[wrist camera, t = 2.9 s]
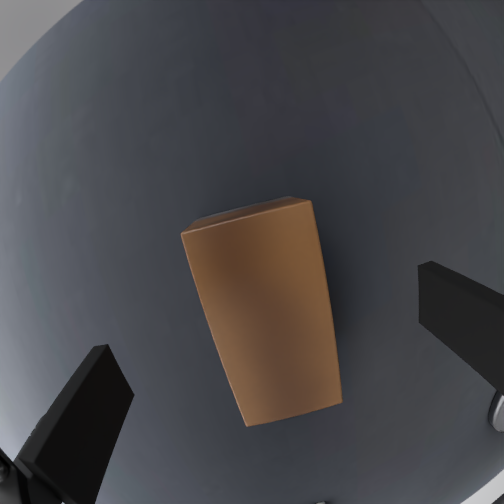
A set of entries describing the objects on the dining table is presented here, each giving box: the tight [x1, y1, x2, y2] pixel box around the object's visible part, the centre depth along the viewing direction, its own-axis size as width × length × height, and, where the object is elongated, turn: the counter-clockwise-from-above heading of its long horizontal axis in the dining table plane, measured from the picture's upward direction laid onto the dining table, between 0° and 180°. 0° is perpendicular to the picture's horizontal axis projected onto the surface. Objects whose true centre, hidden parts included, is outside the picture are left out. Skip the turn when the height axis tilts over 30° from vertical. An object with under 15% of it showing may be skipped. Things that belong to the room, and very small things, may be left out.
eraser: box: [181, 196, 343, 427], centre depth 14 cm, size 5×10×5 cm, turn 14°
